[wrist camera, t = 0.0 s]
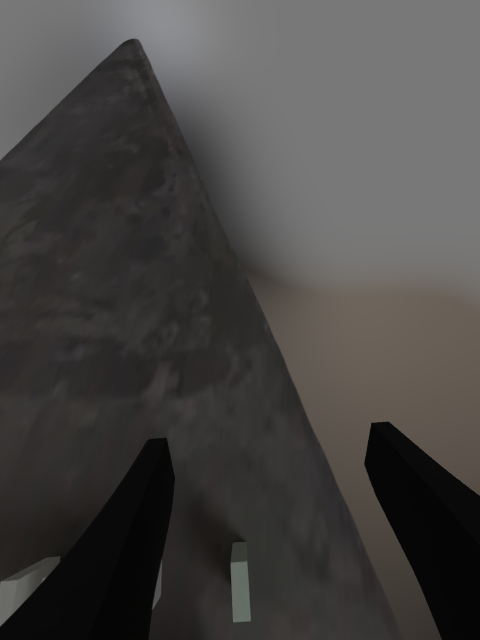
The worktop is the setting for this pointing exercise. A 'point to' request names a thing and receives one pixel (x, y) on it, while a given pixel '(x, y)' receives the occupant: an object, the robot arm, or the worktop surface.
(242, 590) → the domino
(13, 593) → the domino
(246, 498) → the worktop surface
